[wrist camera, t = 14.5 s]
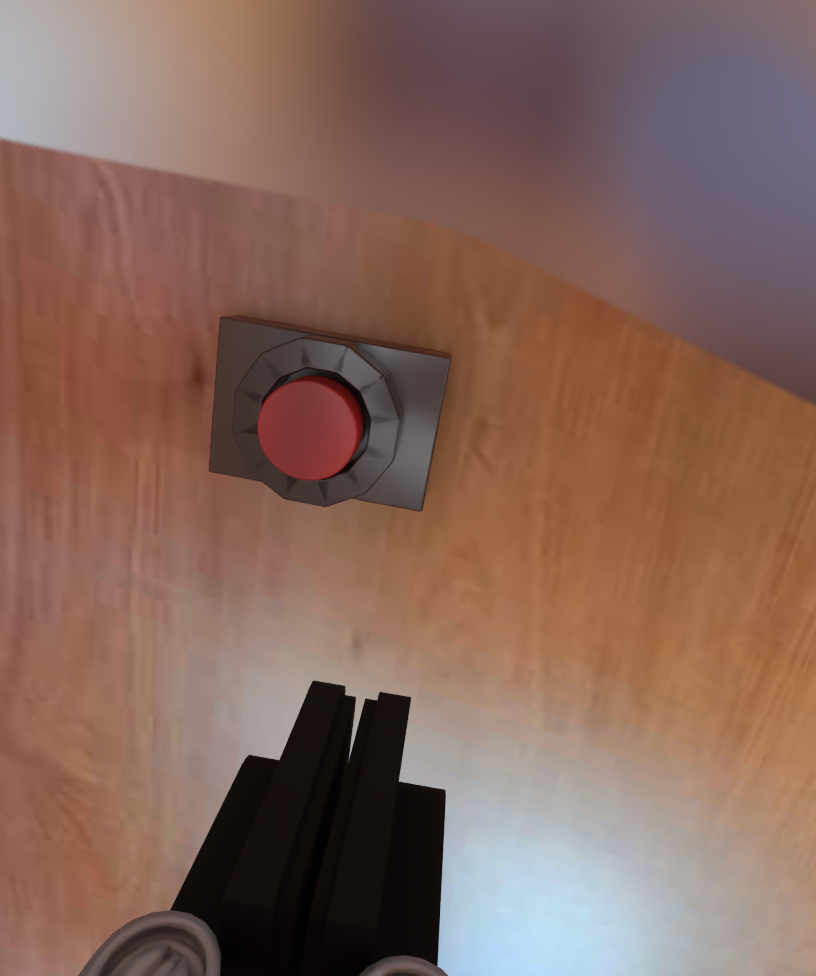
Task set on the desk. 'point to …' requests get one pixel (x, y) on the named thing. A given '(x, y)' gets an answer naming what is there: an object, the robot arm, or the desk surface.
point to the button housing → (372, 381)
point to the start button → (310, 427)
